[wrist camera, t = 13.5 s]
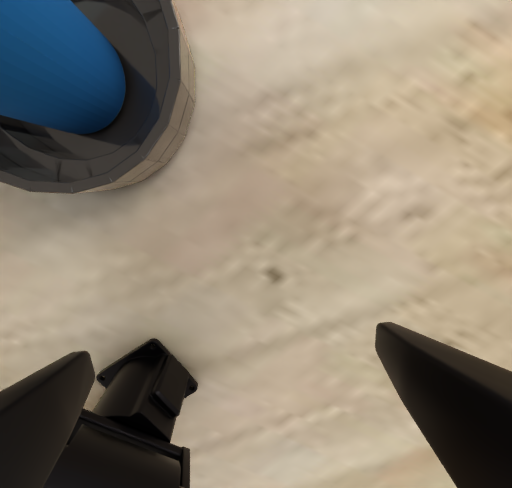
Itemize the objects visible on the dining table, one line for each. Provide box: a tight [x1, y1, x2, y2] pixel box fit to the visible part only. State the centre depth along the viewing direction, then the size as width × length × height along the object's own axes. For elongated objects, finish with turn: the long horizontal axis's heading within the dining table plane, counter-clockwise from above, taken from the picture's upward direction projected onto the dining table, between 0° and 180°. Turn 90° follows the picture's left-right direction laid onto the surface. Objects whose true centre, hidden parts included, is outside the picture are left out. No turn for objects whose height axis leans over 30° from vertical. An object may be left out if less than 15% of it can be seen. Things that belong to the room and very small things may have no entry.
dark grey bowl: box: [0, 0, 195, 194], centre depth 14 cm, size 14×14×5 cm
